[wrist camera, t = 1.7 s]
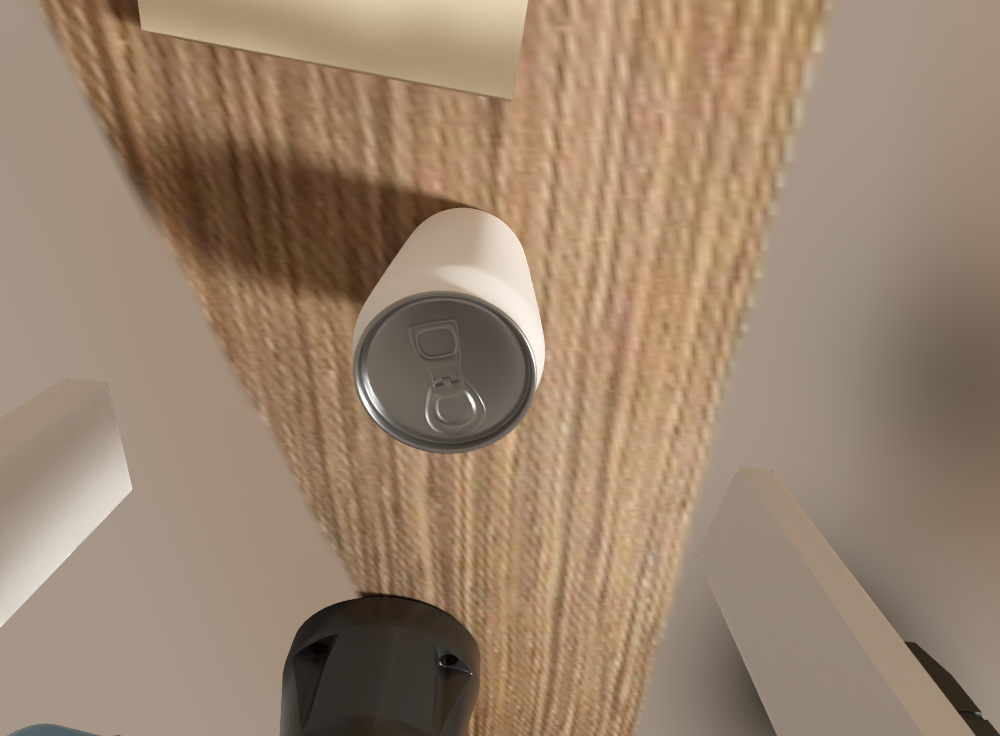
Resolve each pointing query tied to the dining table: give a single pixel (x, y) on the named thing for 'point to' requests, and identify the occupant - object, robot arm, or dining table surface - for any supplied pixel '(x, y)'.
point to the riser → (363, 36)
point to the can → (451, 336)
